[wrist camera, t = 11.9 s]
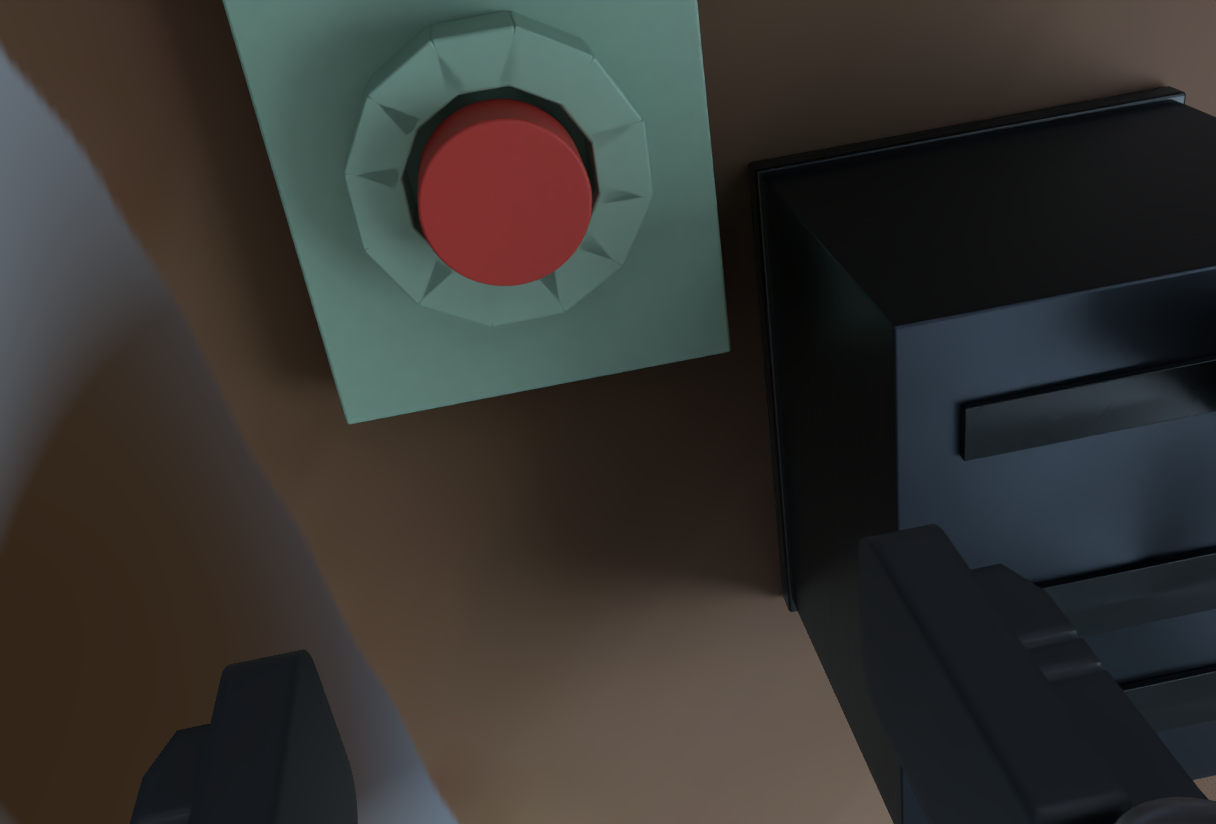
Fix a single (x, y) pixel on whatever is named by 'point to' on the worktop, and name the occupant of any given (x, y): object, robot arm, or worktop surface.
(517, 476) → the worktop surface
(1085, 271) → the toaster
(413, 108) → the button block
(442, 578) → the worktop surface
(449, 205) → the button
